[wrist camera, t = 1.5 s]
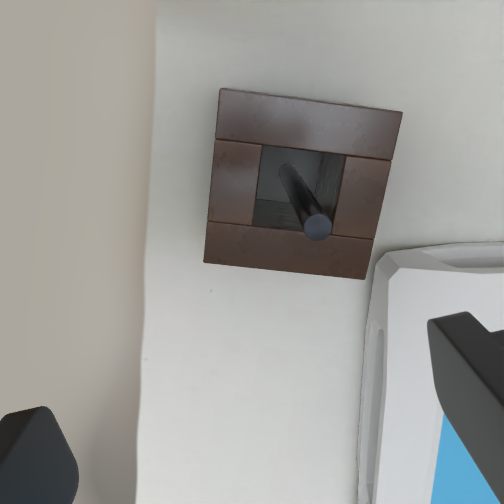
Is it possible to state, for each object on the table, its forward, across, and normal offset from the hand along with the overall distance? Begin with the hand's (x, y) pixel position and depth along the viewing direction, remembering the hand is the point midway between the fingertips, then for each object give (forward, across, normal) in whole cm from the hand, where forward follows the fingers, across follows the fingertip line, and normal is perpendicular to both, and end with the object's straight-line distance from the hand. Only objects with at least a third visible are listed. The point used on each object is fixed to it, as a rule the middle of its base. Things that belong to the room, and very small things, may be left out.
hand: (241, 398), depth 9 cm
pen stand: (+24, -3, 0) cm, 24 cm away
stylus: (+24, -3, 0) cm, 24 cm away
